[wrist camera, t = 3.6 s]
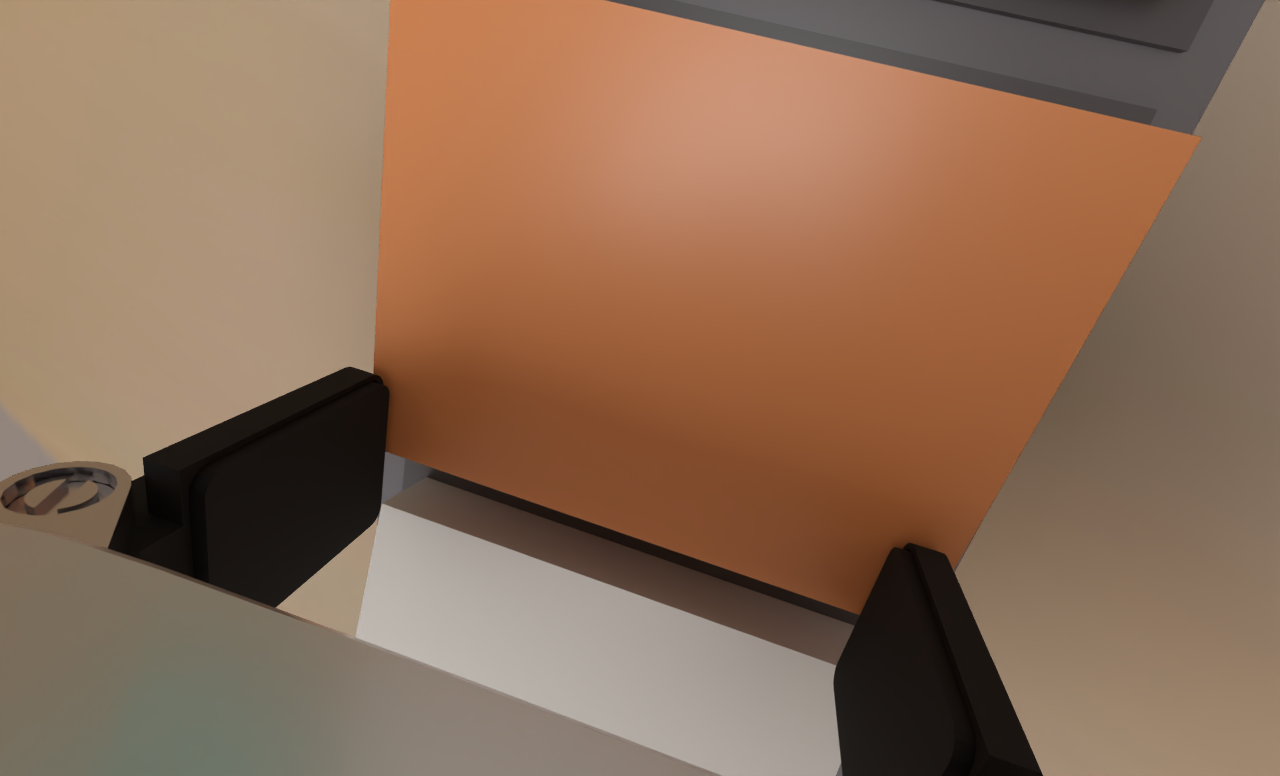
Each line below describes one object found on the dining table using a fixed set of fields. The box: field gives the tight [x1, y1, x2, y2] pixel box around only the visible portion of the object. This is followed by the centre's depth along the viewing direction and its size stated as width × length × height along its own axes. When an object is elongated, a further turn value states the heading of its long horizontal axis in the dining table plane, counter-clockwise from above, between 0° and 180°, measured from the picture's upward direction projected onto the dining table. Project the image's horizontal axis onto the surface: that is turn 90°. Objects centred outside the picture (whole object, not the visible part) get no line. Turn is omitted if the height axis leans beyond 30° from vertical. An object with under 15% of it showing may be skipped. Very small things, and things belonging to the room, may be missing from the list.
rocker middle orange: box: [374, 0, 1202, 615], centre depth 10 cm, size 10×8×2 cm
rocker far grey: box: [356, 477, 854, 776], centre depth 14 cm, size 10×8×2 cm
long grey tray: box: [377, 0, 1265, 776], centre depth 12 cm, size 13×40×5 cm, turn 166°
